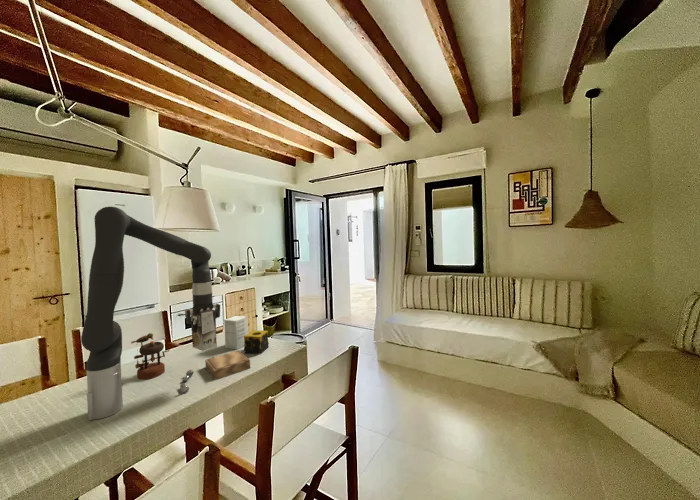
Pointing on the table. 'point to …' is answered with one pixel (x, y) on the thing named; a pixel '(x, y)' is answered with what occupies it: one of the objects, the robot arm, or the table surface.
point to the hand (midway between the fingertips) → (204, 330)
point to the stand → (227, 364)
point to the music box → (151, 348)
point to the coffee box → (204, 330)
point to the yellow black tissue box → (256, 342)
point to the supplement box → (235, 331)
